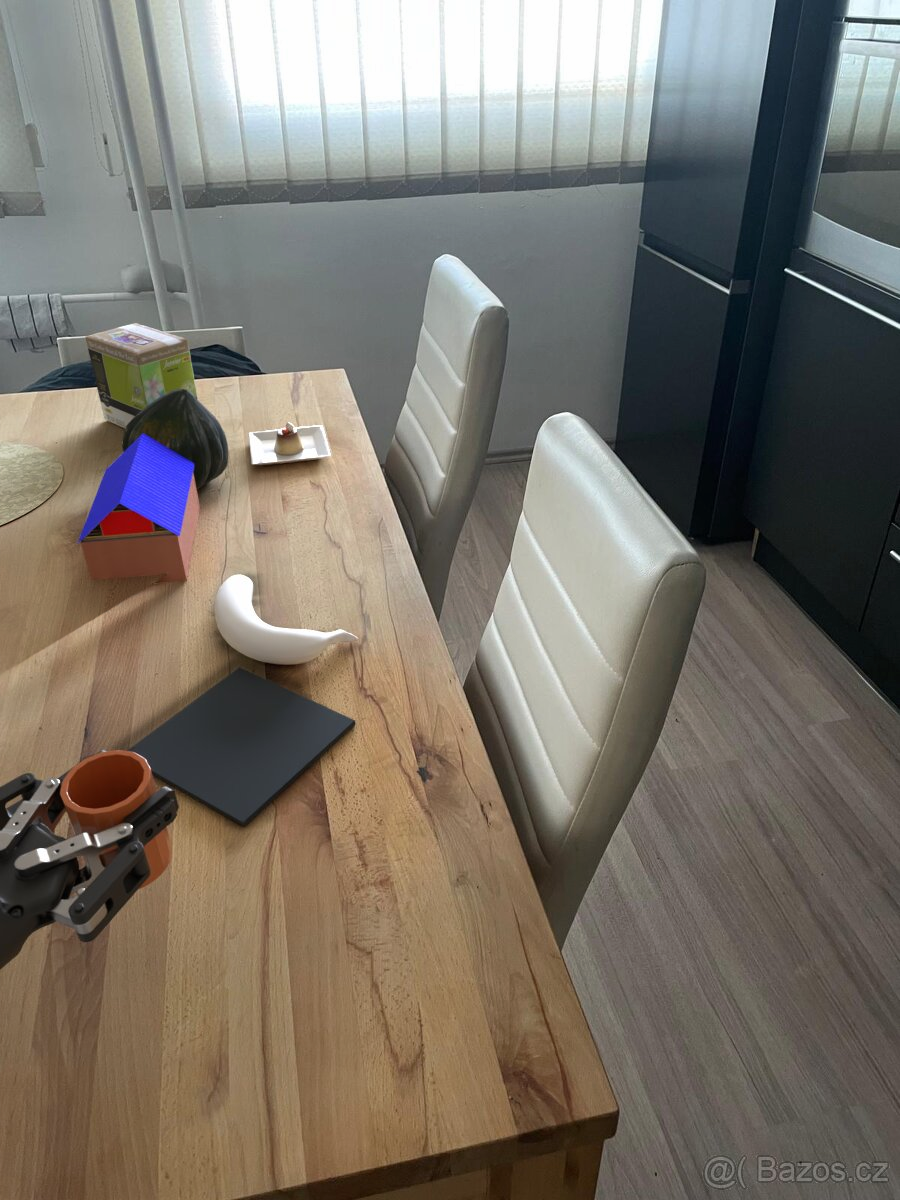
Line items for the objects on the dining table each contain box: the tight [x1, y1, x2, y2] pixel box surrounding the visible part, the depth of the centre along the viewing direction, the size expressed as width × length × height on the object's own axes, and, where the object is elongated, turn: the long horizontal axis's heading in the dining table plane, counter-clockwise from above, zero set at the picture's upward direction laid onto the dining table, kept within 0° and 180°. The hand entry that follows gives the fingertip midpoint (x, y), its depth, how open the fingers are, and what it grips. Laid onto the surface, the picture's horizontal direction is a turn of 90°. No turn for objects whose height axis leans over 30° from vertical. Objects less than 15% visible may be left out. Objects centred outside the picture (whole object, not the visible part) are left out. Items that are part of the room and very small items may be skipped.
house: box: [76, 433, 201, 585], centre depth 119 cm, size 12×20×12 cm, turn 8°
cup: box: [60, 749, 173, 890], centre depth 63 cm, size 6×6×8 cm
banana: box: [214, 574, 360, 666], centre depth 106 cm, size 5×19×15 cm
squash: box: [121, 388, 230, 490], centre depth 133 cm, size 14×15×15 cm
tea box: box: [85, 322, 199, 429], centre depth 151 cm, size 15×10×15 cm
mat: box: [126, 666, 356, 828], centre depth 90 cm, size 16×16×1 cm
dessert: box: [247, 421, 331, 466], centre depth 144 cm, size 12×12×5 cm
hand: (140, 778), depth 64 cm, fingers closed on cup, 5 cm apart
